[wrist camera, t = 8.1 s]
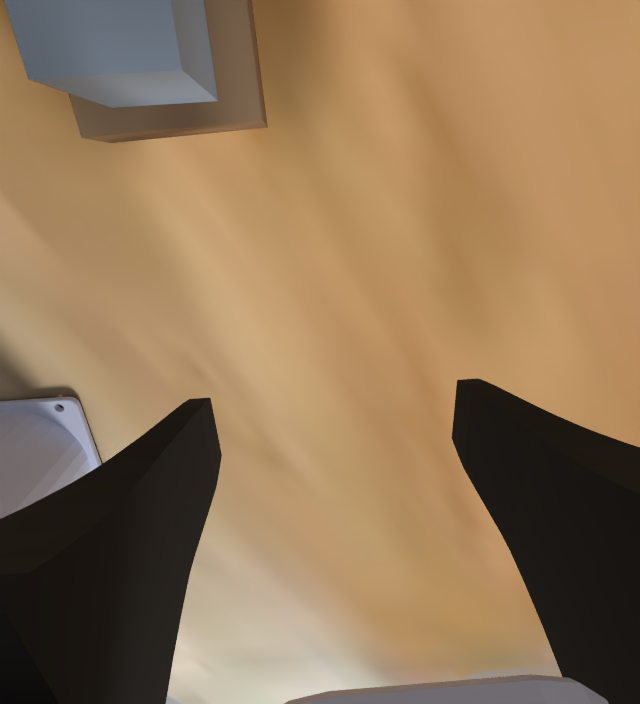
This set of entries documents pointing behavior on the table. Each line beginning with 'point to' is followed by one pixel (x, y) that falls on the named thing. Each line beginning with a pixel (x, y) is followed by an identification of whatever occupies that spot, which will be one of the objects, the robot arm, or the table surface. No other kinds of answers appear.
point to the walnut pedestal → (201, 117)
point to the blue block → (117, 49)
